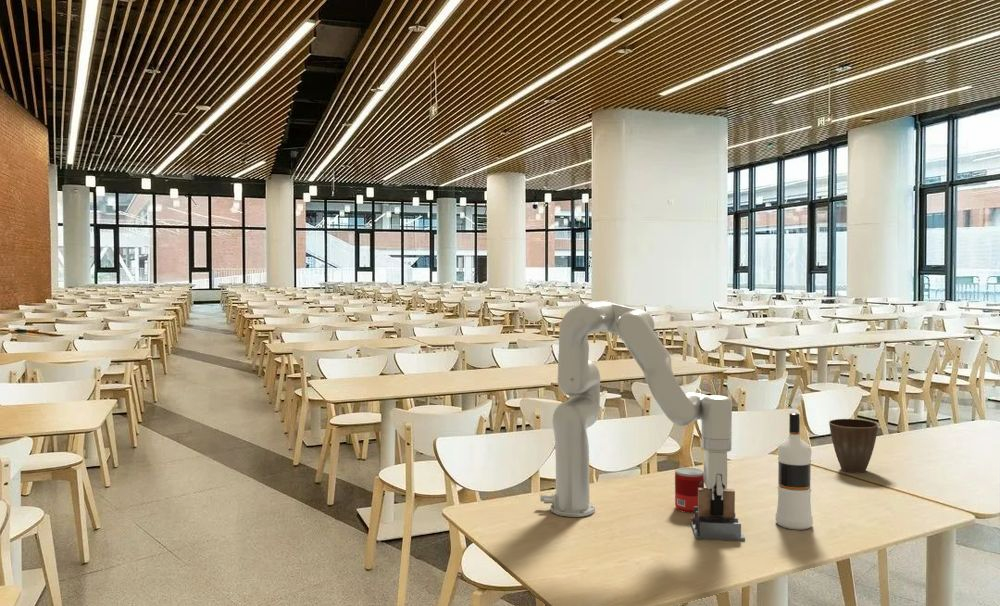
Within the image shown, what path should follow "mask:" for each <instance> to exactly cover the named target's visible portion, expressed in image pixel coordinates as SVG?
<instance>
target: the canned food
mask: <svg viewBox="0 0 1000 606" xmlns="http://www.w3.org/2000/svg"><path fill="white" fill-rule="evenodd" d="M703 474H704V470H703V469H699V468H695V467H679V468H677V469H675V470H674V505H675V508H676V510H677V511H679V512H682V511H683V513H687V512H689V514H694V506H698V488H705V483H704V480H703ZM692 512H693V513H692Z"/></svg>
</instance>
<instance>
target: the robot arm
mask: <svg viewBox="0 0 1000 606" xmlns="http://www.w3.org/2000/svg"><path fill="white" fill-rule="evenodd" d="M654 329H655V320H654V318H653V317H652V315H651V314H650V313H649V312H647V311H645V310H643V309H638V308H635V307H630V306H626V305H621V304H617V303H613V302H608V301H593V302H591V301H590V302H586V303H582V304H578V305H577V306H575V307H572V308H571V309H569V310H568V311H567V312H566V313H565V314H564V316H563V317H562V319H561V321H560V324H559V331H558V353H557V354H558V356H557V357H558V361H557V385H558V388H559V390H560V391H561V393H562V394H564V395H566V396H568V400H566V401H563V402H561V403H560V404H558V405H557V407H556V408H555V410H554V412H553V415H552V429H553V434H554V444H555V446H554V447H555V450H554V451H555V492H554V493H552V494H551V495H550V494H548V495H547V494H540V499H539V500H540V502H541V503H542V502H543V504H548V505H549V504H551V505H550V511H551V513H553V514H554V513H555V515H557V516H561V517H568V518H581V517H587V516H590V515H592V514H594V512H596V506H595V505H594V504H593V503H591V502H590V446H589V438H588V432H587V429H588V428H590V427H592V426H593V425H594V424H595V423H596V421H598V418H599V414H600V407H601V406H600V405H601V402H600V401H601V374H600V371H599V368H598V366H597V365H596V364H595V363H594V362H593V361H591V360H590V359H589V354H590V353H589V352H590V348H589V347H590V346H589V341H588V340H589V339H588V337H589V335H591V334H594V333H600V332H606V333H610V334H615V335H618V337H619V339H620V340H621V341H622V343H623V344H624V346H625V347H626V349H627V350H628V352H629V353H630V354H631V356H632V357H633V359H634V361H636V363H637V365H638V366H639V368H640V369H641V371H642V373H643V375H644V378H645V381H646V383H647V385H648V388H649V391H650V392H651V394H652V396H653V398H654V400H655V401H656V403H657V404H658V406H659V407H660V409H661V411H662V412H663V413H664V414H665V416H666V417H667V419H668V420H669V421H671V423H672V424H675V425H677V426H680V427H685V426H688V425H690V424H692V423H693V422H695V421H698V420H701V449H702V451H704V456H703V472H704V474H703V480H704V486H705V488H707V489H708V490H710V489H712V500H710V514H711V515H715V516H723V489H724V490H726V489H728V452H731V451H732V444H733V443H732V438H733V435H732V431H733V430H732V426H733V425H732V420H733V419H732V418H733V417H732V414H733V413H732V412H733V409H732V408H733V403H732V400H731V398H729V397H728V396H725V395H718V394H711V395H707V394H703V393H702V394H701V393H698V392H694V391H686V392H684V390H683V389H682V387H681V385H680V384H679V382H678V380H677V379H676V377H675V375H674V372H673V368H672V367H673V366H672V357H671V354H670V352H669V351H668V350H667V348H666V346H664V344H663V343H662V341H661V339H660V338H659V337H658V335H657V334H656V333H655V331H654ZM714 491H716V492H715V493H714Z"/></svg>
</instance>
